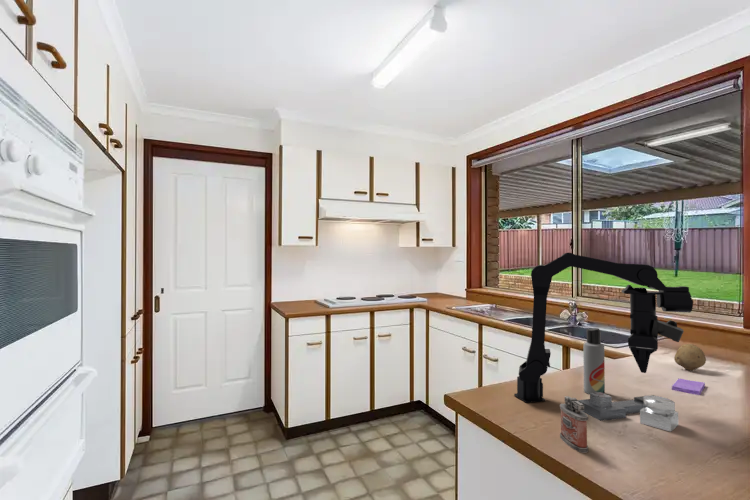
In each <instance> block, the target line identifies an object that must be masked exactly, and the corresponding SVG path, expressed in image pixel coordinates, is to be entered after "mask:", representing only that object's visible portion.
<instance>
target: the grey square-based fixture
mask: <svg viewBox="0 0 750 500" xmlns="http://www.w3.org/2000/svg"><path fill="white" fill-rule="evenodd" d="M643 396H644V408H643V409H641V410H640V412H639V423H640V424H643V425H646V426H650V427H653V428H656V429H659V430H662V431H667V432H672V431H673V430H675V429H676V428H677V427H678V426H679V411H676V403H675V401H674V400H672V399H670V398H668V397H667V398H666V397H663V396H659V395H655V396H651V395H643Z"/></svg>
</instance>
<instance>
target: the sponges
mask: <svg viewBox="0 0 750 500" xmlns="http://www.w3.org/2000/svg"><path fill="white" fill-rule="evenodd" d="M705 385H706V383H705V382H704V381H696V380H690V379H689V380H688V379H684V378H677V380H675V382H674V383H673V384H672V385H671V390H672V391H676V392H680V393H687V394H691V395H696V396H701V394H702V392H703V390H704V388H705V387H706V386H705Z"/></svg>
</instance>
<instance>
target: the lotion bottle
mask: <svg viewBox="0 0 750 500" xmlns="http://www.w3.org/2000/svg"><path fill="white" fill-rule="evenodd" d="M601 333H602V332H601V329H600V328H599V327H597V328H596V327H593V328H592V327H590V328H589V327H588V328H586V342H584V343H583V346H582V347H583V348H582V349H583V392H584V393H585V394H587V395H590V393H598V392H602V393H604V394H606V393H605V391H606V388H605V386H606V384H605V382H606V379H605V378H606V377H605V376H606V375H605V370H606V369H605V344H603V343H602V341H601V340H602V337H601V335H602V334H601Z"/></svg>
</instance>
